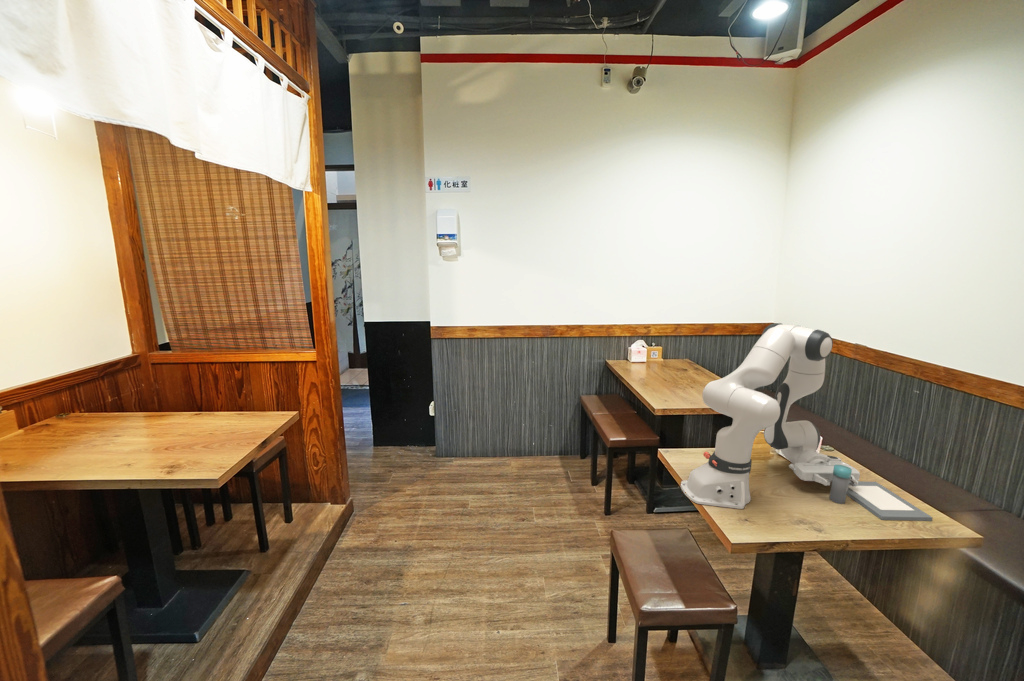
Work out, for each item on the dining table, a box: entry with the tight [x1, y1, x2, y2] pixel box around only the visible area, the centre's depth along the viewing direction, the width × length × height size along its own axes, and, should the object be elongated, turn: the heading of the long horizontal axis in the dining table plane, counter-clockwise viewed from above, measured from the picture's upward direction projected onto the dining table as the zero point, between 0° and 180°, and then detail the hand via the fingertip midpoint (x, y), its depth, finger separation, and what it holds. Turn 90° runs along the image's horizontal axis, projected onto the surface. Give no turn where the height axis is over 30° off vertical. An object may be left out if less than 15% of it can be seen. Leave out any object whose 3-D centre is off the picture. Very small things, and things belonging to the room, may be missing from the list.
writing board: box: [846, 480, 934, 522], centre depth 148 cm, size 16×22×1 cm
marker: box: [829, 465, 852, 505], centre depth 147 cm, size 5×5×12 cm
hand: (842, 484), depth 146 cm, fingers open, 8 cm apart
